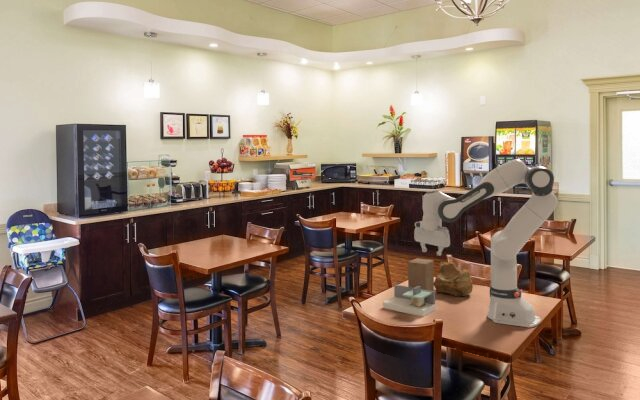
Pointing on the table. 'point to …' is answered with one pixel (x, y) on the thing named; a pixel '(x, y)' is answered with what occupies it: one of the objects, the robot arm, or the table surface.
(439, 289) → the rough brown rock
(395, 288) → the puzzle board
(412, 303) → the birch block
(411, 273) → the wooden block
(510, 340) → the table surface
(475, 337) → the table surface
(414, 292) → the slide lid
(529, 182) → the robot arm
